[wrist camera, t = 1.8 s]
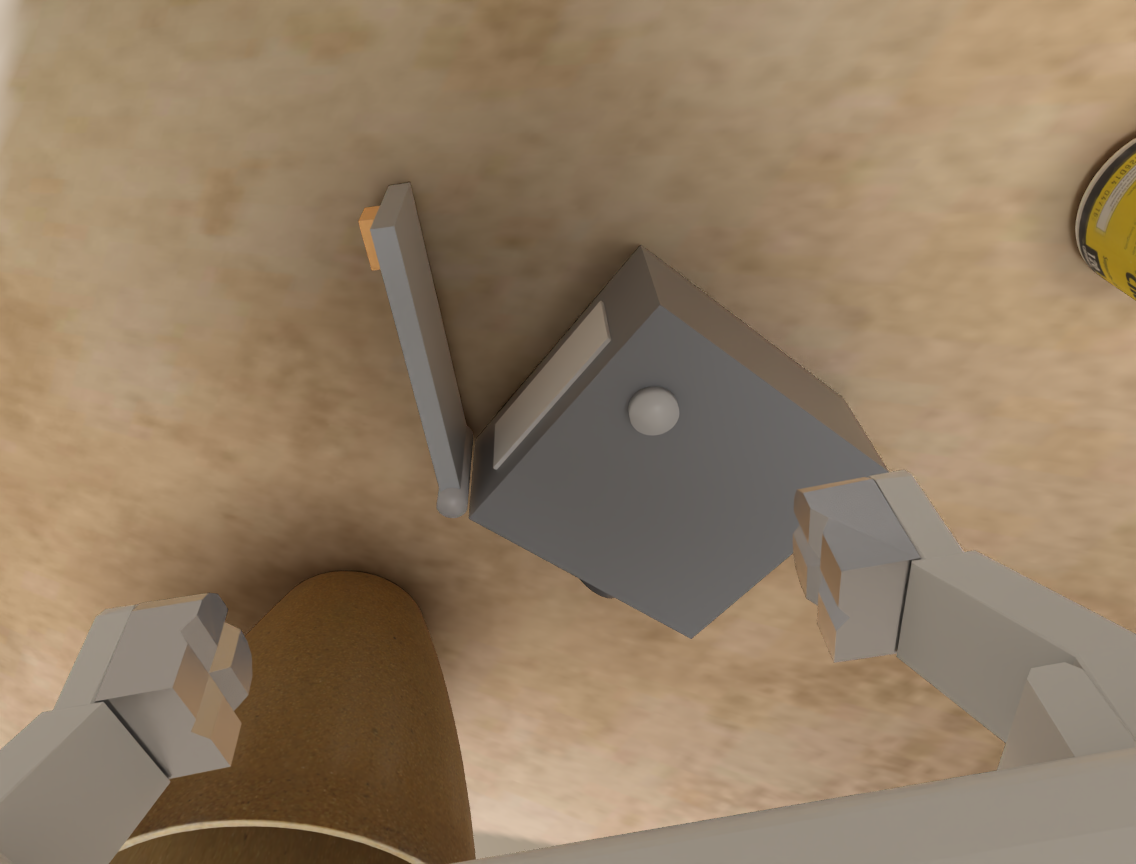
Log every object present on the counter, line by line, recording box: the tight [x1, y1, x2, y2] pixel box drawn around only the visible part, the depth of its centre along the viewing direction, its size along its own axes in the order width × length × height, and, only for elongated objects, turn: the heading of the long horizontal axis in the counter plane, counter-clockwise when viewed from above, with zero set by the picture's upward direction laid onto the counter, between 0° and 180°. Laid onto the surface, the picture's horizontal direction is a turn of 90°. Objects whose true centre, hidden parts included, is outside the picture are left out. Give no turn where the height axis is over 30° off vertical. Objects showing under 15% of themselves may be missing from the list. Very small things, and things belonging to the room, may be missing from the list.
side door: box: [358, 183, 473, 518], centre depth 32 cm, size 2×12×5 cm, turn 7°
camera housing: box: [469, 245, 889, 639], centre depth 35 cm, size 12×12×6 cm
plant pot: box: [109, 571, 476, 864], centre depth 37 cm, size 15×15×16 cm
